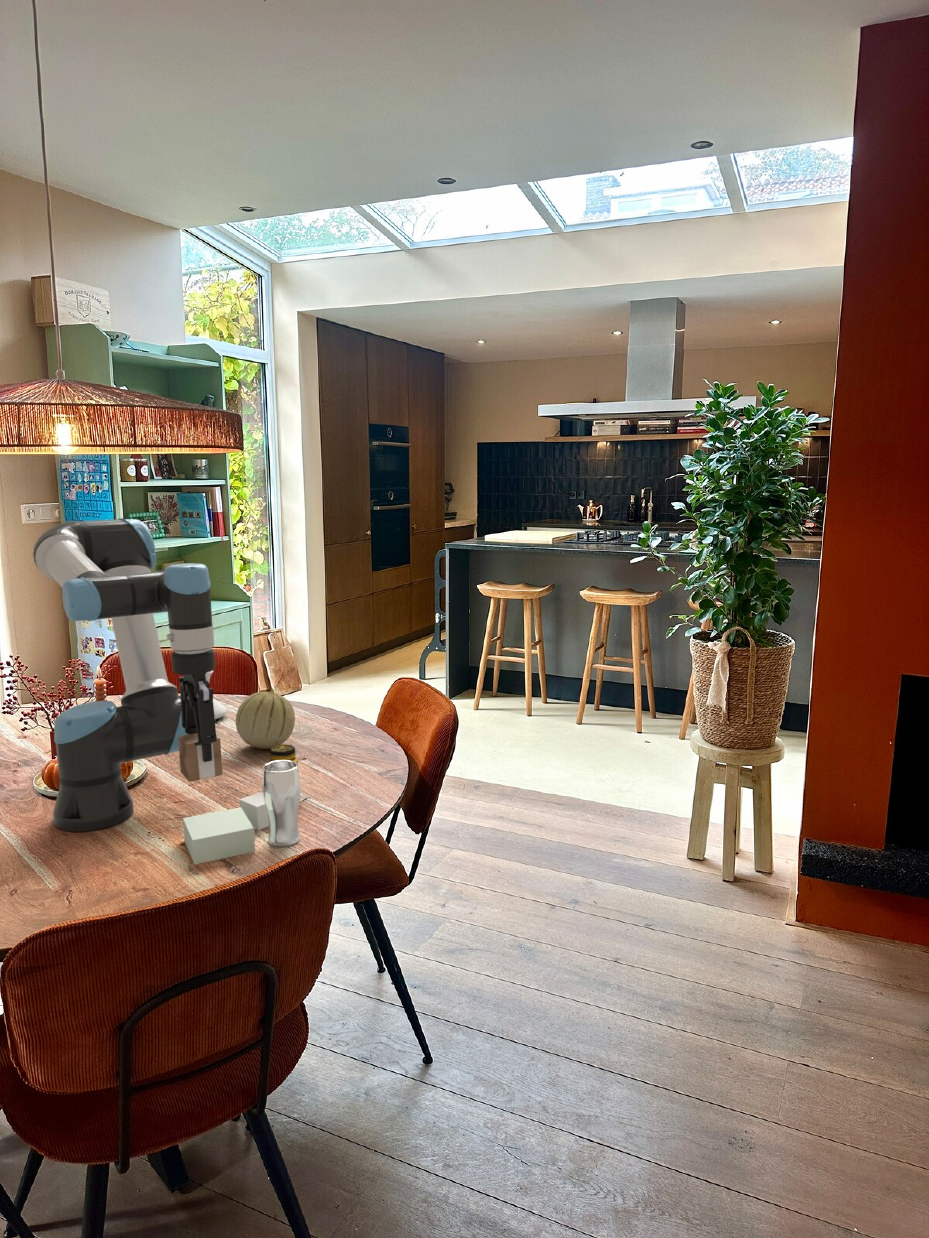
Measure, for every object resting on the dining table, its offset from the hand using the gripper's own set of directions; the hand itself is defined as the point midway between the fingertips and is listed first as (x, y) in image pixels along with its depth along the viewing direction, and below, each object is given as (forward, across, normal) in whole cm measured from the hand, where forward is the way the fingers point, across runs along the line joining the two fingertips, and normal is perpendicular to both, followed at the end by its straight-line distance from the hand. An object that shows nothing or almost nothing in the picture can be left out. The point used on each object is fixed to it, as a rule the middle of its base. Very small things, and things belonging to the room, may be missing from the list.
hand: (201, 771), depth 156 cm
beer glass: (+16, +4, +14) cm, 21 cm away
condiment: (+15, -15, +21) cm, 30 cm away
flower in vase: (+14, -84, +25) cm, 89 cm away
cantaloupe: (+15, -51, +30) cm, 61 cm away
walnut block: (0, 0, 0) cm, 0 cm away
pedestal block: (+16, 0, +2) cm, 16 cm away
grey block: (+15, -7, +13) cm, 21 cm away
